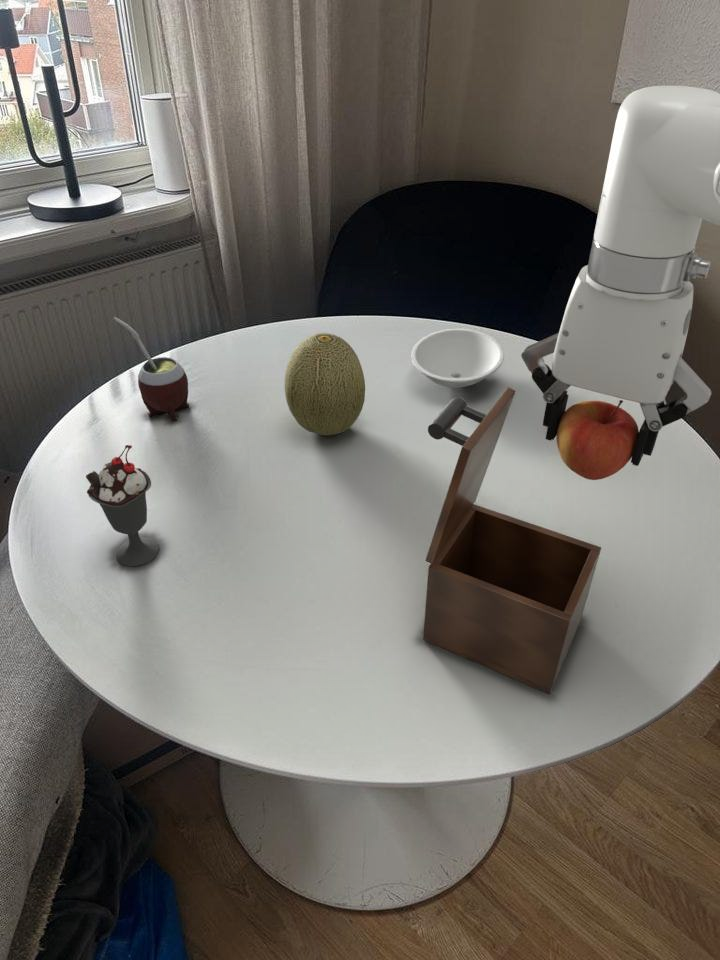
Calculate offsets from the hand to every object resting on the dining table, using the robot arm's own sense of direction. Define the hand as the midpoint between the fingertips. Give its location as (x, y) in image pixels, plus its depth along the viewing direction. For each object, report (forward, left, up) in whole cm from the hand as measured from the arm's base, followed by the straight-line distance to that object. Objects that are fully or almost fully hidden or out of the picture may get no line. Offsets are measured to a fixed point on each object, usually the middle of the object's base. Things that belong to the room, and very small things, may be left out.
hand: (594, 444), depth 67 cm
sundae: (+45, +19, -20) cm, 53 cm away
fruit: (+39, -14, -20) cm, 46 cm away
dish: (+28, -36, -20) cm, 50 cm away
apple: (0, 0, -3) cm, 3 cm away
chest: (+3, +9, -20) cm, 22 cm away
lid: (+9, +9, -1) cm, 13 cm away
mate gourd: (+63, -6, -20) cm, 67 cm away
